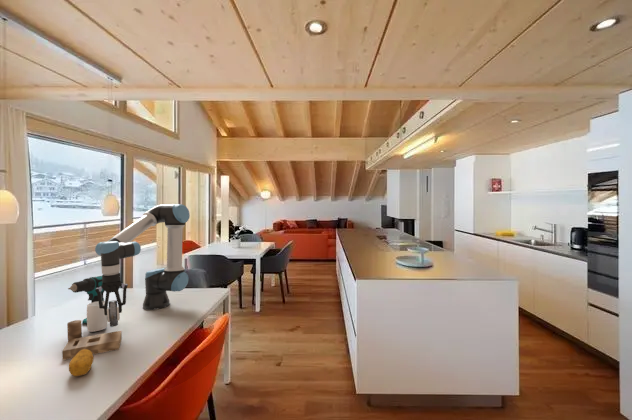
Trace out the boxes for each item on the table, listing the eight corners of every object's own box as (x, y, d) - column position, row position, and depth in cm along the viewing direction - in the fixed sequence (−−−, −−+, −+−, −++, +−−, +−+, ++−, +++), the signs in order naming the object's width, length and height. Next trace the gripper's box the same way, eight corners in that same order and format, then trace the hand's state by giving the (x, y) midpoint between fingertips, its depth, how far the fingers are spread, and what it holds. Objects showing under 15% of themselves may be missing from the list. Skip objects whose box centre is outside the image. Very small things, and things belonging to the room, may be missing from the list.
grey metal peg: (118, 323, 154) (117, 299, 153) (117, 325, 151) (116, 301, 150) (110, 324, 152) (109, 301, 151) (109, 327, 149) (108, 303, 148)
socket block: (121, 338, 148) (121, 330, 148) (119, 349, 138) (118, 340, 138) (69, 348, 139) (69, 339, 139) (62, 360, 128) (62, 350, 128)
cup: (111, 328, 160) (110, 301, 160) (95, 335, 152) (94, 307, 152) (99, 326, 163) (98, 300, 163) (83, 333, 155) (82, 305, 155)
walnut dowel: (83, 339, 147) (82, 319, 147) (80, 344, 143) (80, 323, 143) (69, 342, 145) (68, 321, 145) (66, 346, 140) (65, 325, 140)
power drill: (77, 332, 156) (75, 283, 155) (62, 331, 157) (61, 283, 157) (119, 314, 181) (118, 272, 180) (106, 313, 183) (105, 271, 182)
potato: (64, 384, 111) (63, 365, 111) (75, 365, 124) (74, 348, 124) (88, 379, 114) (87, 361, 114) (96, 361, 127) (96, 344, 127)
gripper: (131, 269, 157) (133, 314, 158) (92, 273, 149) (94, 320, 151) (130, 272, 150) (132, 319, 152) (89, 277, 143) (92, 326, 144)
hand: (113, 320), depth 151 cm, fingers closed on grey metal peg, 3 cm apart
